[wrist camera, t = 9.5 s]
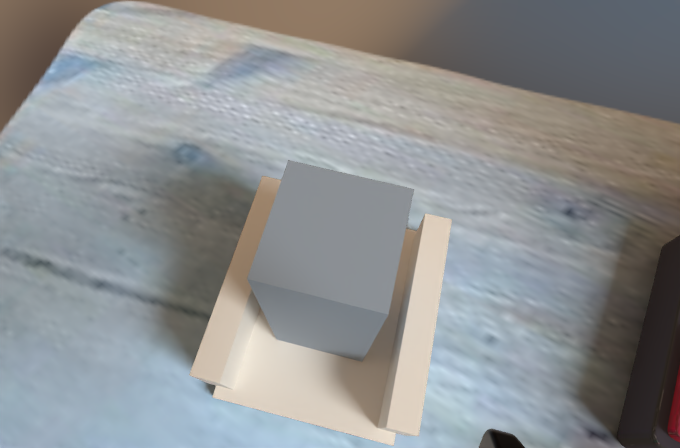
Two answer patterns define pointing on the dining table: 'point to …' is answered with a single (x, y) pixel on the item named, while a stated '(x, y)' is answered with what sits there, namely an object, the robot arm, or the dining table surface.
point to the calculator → (657, 364)
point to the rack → (320, 367)
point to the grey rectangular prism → (330, 258)
